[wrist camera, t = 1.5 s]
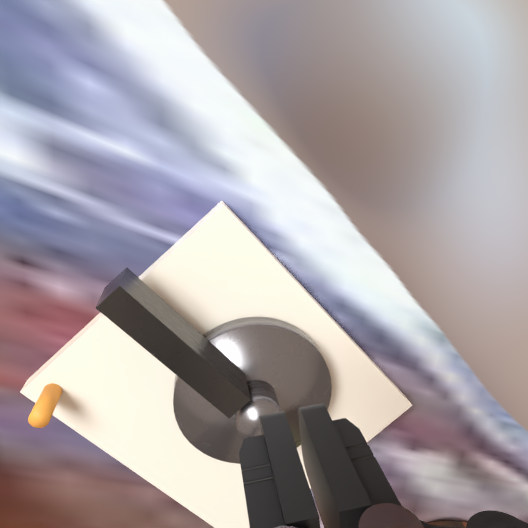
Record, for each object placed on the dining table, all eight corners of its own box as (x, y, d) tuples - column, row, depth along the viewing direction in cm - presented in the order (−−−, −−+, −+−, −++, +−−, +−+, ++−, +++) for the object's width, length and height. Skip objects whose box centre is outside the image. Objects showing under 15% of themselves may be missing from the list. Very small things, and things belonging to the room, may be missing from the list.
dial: (354, 382, 33) (378, 421, 29) (246, 473, 34) (254, 523, 30) (183, 209, 27) (182, 227, 23) (58, 326, 28) (35, 363, 24)
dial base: (403, 394, 37) (431, 430, 33) (238, 529, 39) (244, 580, 34) (222, 200, 29) (227, 214, 25) (27, 379, 31) (2, 421, 27)
